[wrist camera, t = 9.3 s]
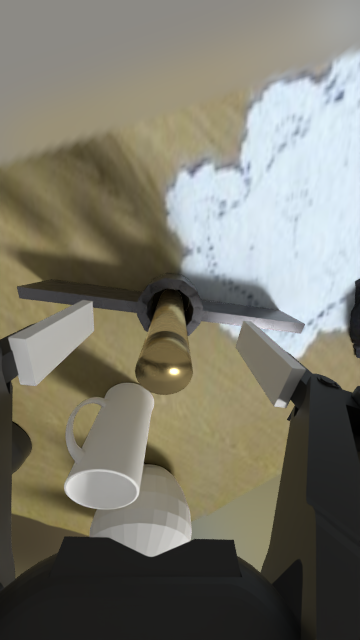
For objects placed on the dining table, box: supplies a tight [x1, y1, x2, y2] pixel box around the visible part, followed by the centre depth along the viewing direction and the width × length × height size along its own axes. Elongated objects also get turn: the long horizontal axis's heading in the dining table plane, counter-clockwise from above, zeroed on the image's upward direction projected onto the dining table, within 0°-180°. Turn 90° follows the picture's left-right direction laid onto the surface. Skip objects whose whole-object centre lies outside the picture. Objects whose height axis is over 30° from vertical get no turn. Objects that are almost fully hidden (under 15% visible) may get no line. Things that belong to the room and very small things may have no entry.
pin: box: [135, 289, 193, 395], centre depth 16 cm, size 3×3×15 cm
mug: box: [64, 383, 154, 509], centre depth 23 cm, size 12×8×12 cm
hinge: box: [17, 273, 305, 336], centre depth 20 cm, size 31×7×5 cm, turn 82°
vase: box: [90, 464, 192, 557], centre depth 29 cm, size 18×18×19 cm
